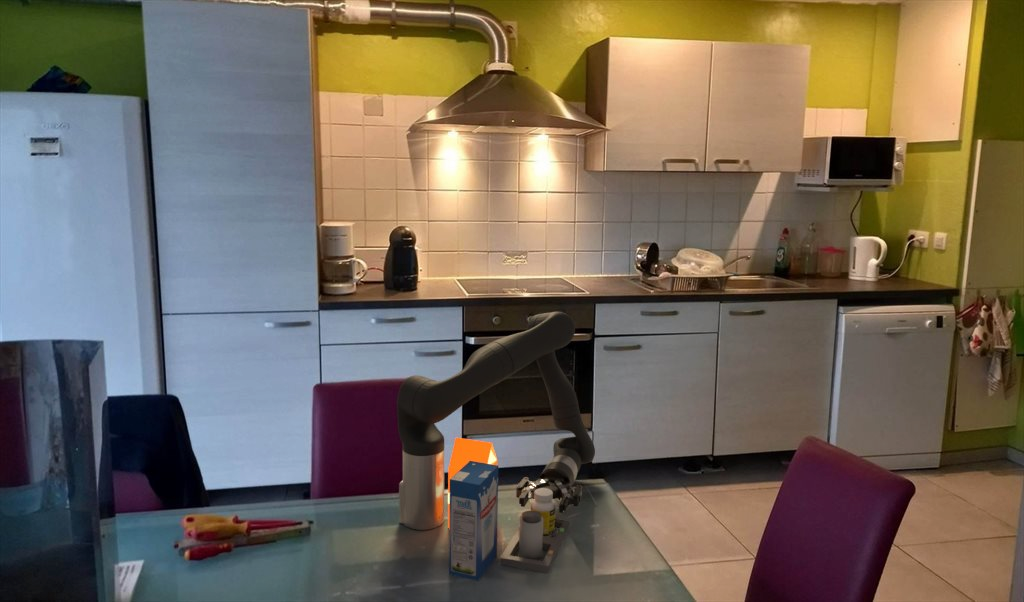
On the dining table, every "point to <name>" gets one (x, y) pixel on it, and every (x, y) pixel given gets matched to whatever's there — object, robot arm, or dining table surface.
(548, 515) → the supplement bottle
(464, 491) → the milk carton
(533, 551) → the seated grey plug
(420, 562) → the dining table surface
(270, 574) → the dining table surface
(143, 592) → the dining table surface
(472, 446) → the orange juice
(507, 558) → the two-slot grey tray
